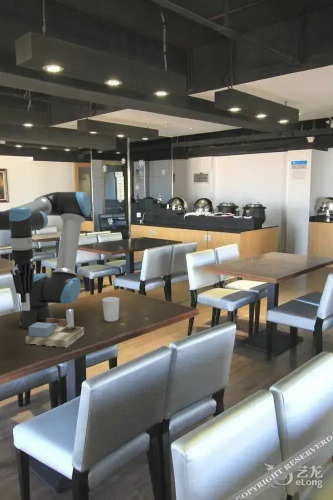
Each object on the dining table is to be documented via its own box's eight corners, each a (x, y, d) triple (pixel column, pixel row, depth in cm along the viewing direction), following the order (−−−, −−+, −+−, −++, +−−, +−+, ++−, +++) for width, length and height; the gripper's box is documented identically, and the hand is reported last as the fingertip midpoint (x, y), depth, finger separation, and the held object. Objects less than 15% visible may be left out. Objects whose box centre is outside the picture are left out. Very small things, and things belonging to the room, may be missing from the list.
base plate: (26, 344, 166) (25, 329, 165) (46, 330, 181) (46, 317, 180) (66, 347, 161) (65, 333, 160) (84, 333, 177) (83, 320, 176)
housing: (29, 335, 166) (28, 326, 165) (37, 330, 172) (36, 322, 171) (46, 337, 164) (46, 328, 163) (54, 332, 170) (54, 323, 169)
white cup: (116, 322, 191) (116, 301, 190) (100, 321, 193) (100, 301, 192) (121, 317, 199) (121, 297, 198) (106, 316, 201) (105, 296, 199)
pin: (65, 337, 172) (64, 310, 170) (69, 335, 175) (68, 308, 173) (72, 338, 171) (71, 310, 169) (75, 336, 174) (74, 308, 172)
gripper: (20, 251, 145) (24, 315, 149) (40, 246, 158) (43, 306, 161) (2, 250, 147) (6, 314, 151) (23, 246, 160) (26, 304, 163)
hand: (25, 309), depth 156 cm, fingers closed
